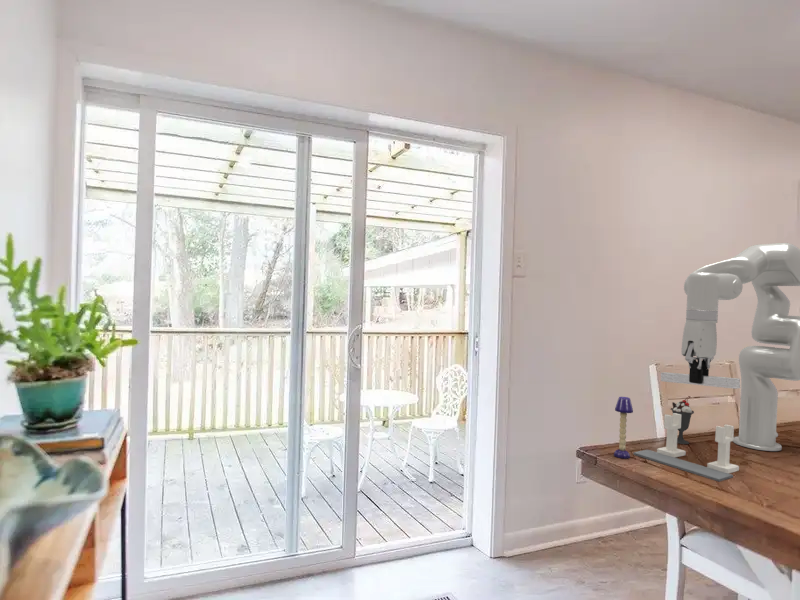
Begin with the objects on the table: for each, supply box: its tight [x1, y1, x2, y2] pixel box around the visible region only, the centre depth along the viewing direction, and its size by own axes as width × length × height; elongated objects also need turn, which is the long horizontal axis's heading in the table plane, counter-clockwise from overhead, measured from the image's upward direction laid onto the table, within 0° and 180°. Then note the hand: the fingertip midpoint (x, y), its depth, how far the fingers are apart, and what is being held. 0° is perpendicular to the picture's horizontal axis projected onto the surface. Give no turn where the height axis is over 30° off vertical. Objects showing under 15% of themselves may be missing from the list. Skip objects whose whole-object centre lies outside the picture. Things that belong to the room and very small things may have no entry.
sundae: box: [670, 395, 695, 445], centre depth 158 cm, size 7×7×15 cm
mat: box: [632, 449, 734, 482], centre depth 135 cm, size 7×23×1 cm, turn 32°
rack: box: [656, 412, 740, 474], centre depth 139 cm, size 6×19×12 cm, turn 32°
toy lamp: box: [613, 396, 634, 459], centre depth 141 cm, size 5×5×17 cm
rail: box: [660, 371, 741, 389], centre depth 139 cm, size 2×20×2 cm, turn 32°
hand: (698, 382), depth 138 cm, fingers closed on rail, 2 cm apart
